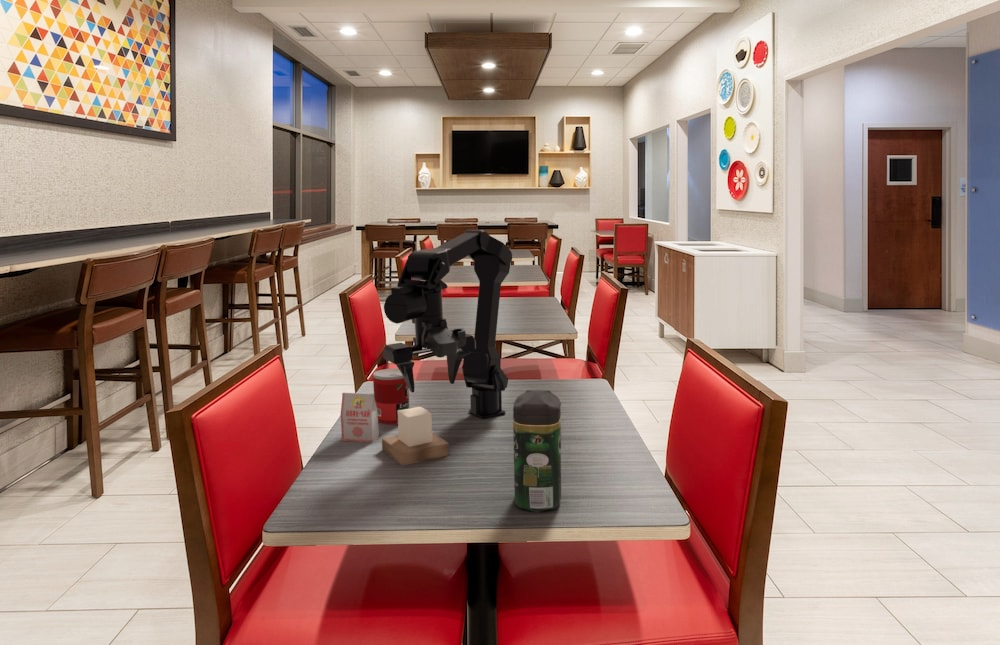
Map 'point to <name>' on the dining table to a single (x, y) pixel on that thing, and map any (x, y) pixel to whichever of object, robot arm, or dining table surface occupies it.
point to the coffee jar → (537, 450)
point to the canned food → (390, 394)
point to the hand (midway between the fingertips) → (432, 387)
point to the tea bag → (359, 417)
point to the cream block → (415, 426)
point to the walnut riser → (414, 450)
